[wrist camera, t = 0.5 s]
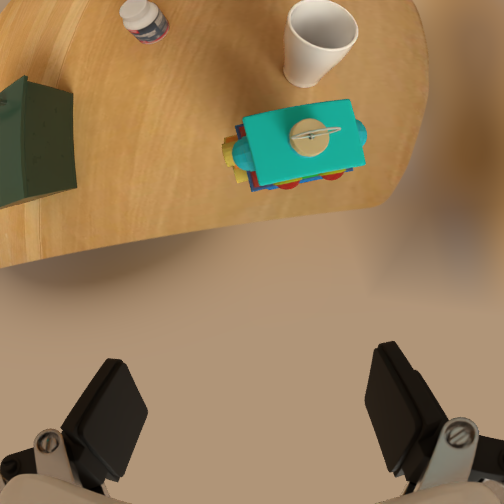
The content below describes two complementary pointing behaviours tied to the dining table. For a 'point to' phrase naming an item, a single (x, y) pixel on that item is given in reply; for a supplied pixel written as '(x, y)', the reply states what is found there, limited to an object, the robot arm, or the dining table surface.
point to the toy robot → (296, 145)
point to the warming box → (48, 142)
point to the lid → (12, 143)
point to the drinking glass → (316, 40)
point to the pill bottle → (144, 20)
